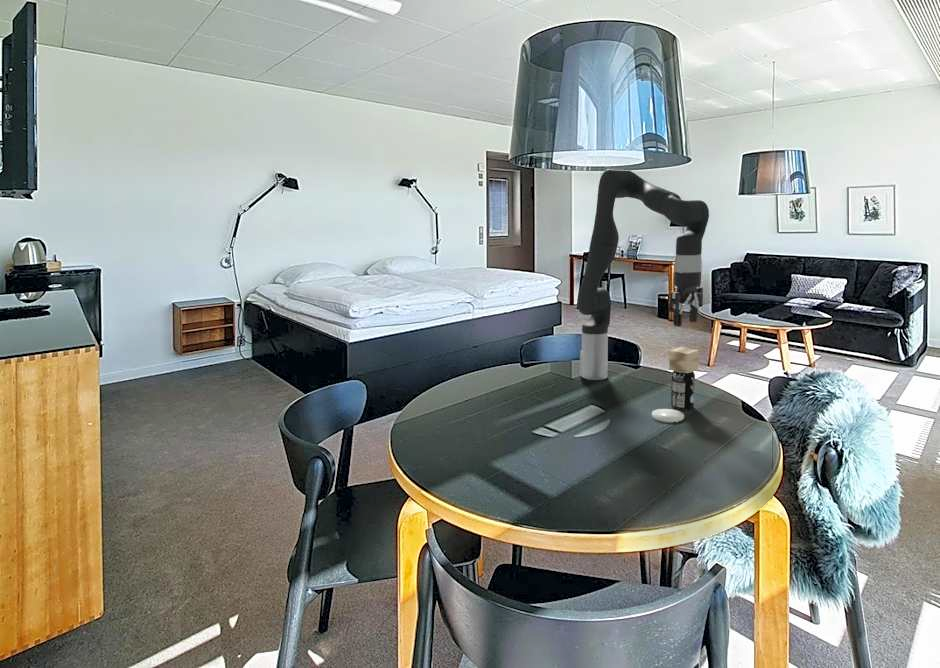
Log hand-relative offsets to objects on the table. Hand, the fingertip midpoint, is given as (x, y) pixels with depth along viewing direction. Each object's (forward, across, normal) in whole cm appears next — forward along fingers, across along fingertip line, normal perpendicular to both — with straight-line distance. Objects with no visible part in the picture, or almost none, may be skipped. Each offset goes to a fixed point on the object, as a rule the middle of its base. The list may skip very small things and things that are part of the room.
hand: (685, 324), depth 166 cm
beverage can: (+26, 0, 0) cm, 26 cm away
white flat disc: (+26, +11, +2) cm, 28 cm away
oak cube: (+14, 0, 0) cm, 14 cm away
